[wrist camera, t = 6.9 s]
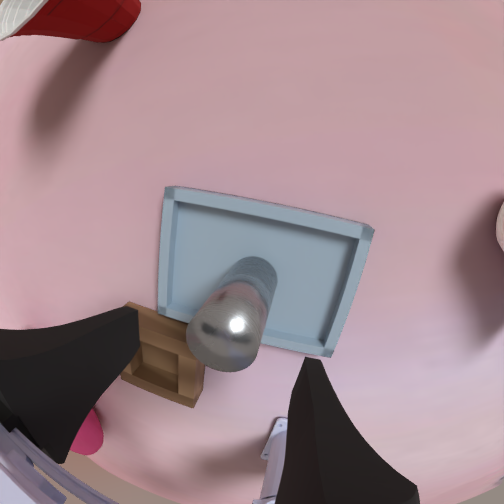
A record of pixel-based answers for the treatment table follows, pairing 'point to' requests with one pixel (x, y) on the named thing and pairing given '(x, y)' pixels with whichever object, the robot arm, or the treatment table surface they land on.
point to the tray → (272, 250)
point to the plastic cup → (68, 18)
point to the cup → (500, 227)
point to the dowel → (234, 317)
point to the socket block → (164, 359)
